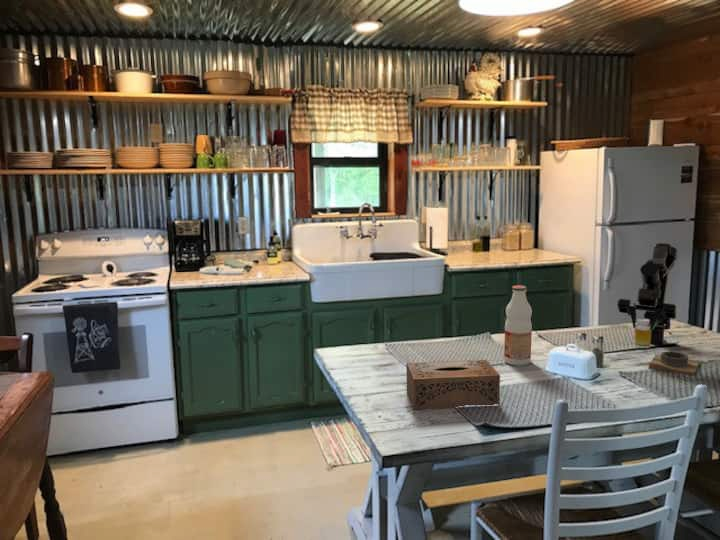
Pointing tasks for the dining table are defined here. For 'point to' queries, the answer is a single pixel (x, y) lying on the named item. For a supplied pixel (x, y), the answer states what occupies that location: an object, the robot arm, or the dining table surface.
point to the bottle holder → (674, 363)
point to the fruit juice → (518, 329)
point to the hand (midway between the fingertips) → (642, 328)
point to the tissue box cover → (452, 384)
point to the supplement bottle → (642, 333)
